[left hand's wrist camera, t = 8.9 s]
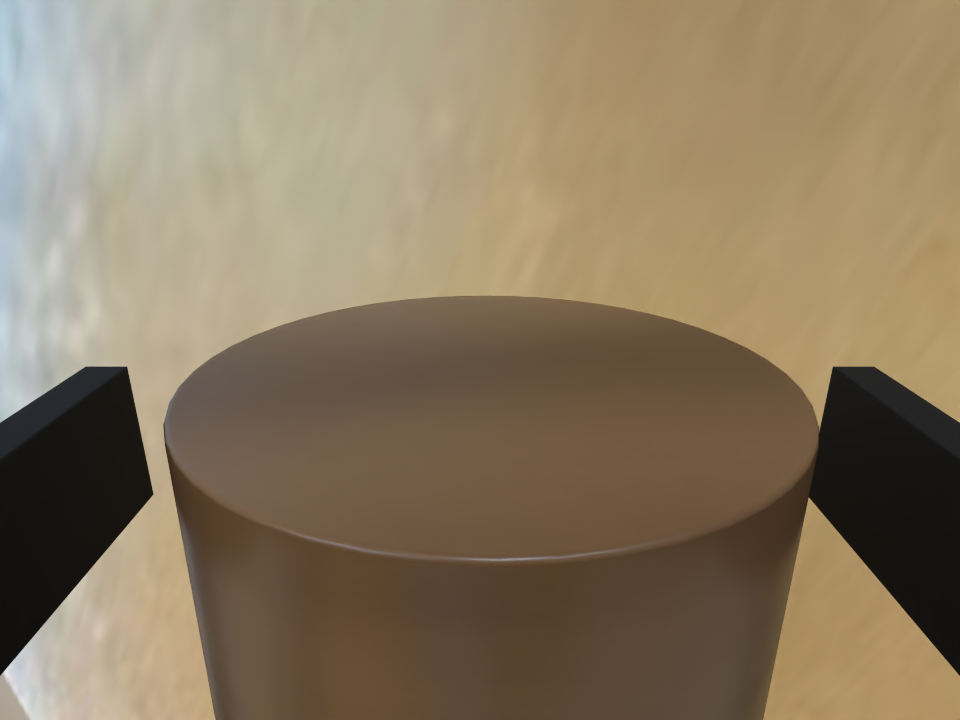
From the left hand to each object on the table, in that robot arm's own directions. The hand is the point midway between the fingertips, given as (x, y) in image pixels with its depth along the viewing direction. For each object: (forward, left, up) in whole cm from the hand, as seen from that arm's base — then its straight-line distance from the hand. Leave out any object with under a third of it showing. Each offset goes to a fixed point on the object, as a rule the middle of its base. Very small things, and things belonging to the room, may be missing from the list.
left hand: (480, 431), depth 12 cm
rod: (+11, +3, -2) cm, 11 cm away
